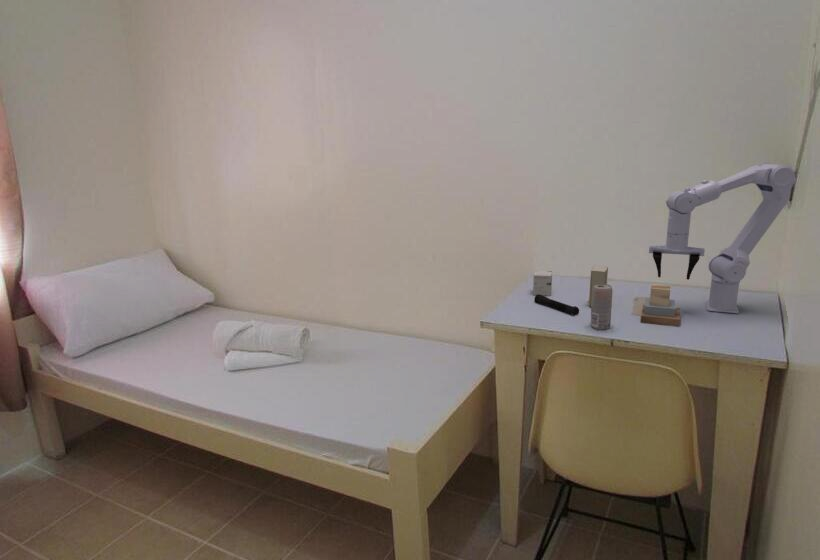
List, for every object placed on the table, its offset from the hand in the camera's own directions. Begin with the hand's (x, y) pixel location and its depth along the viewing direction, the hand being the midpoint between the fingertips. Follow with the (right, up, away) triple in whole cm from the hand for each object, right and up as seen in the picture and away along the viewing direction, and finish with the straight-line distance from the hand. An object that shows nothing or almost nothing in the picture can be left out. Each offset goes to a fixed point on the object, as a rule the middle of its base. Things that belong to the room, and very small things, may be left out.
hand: (673, 277), depth 156 cm
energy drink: (-24, -14, -7) cm, 29 cm away
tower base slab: (-6, -12, -3) cm, 14 cm away
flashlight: (-32, -10, +10) cm, 36 cm away
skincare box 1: (-33, -5, +25) cm, 42 cm away
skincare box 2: (-19, -9, +11) cm, 24 cm away
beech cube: (-6, -7, -4) cm, 10 cm away
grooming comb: (-6, -10, +8) cm, 14 cm away
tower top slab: (-6, -10, -3) cm, 12 cm away
